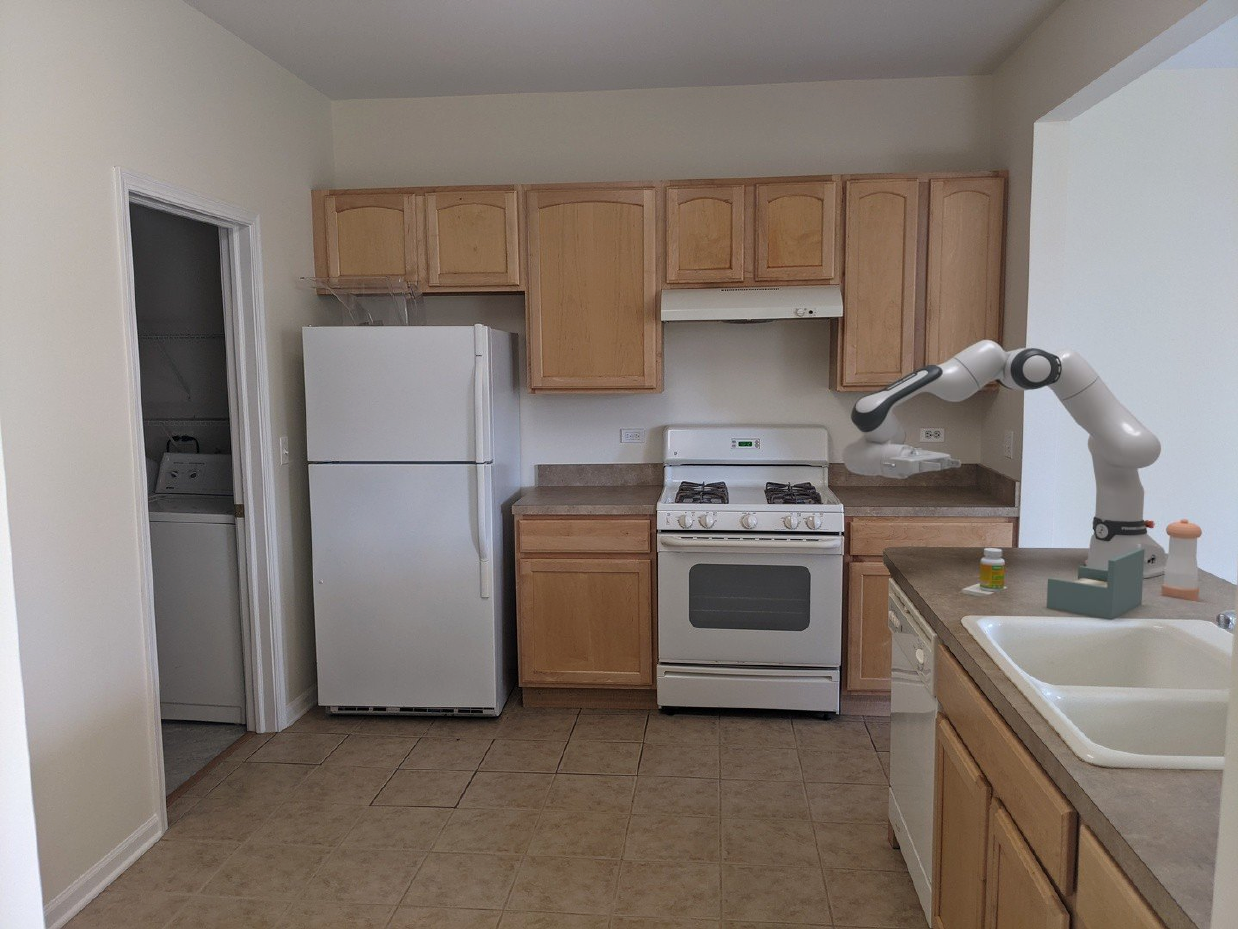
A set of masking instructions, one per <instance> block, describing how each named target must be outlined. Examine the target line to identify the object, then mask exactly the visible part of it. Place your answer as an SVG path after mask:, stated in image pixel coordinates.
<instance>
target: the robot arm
mask: <svg viewBox="0 0 1238 929" xmlns="http://www.w3.org/2000/svg"><path fill="white" fill-rule="evenodd" d="M993 381H995V382H997V383H998V384H999V385H1001V386H1003V387H1004V388H1006V389H1009V390H1015V391H1020V392H1021V391H1029V390H1030V391H1031V390H1032V391H1033V390H1037V389H1041V388H1045V387H1048V388H1049V389H1050V390H1052V392H1053V394H1054V395H1055V396H1056V397H1057V399H1058V400H1059V402H1060V403H1061V404H1062V405H1063V407H1064V408H1065V409H1066V411H1067V412H1068V413H1069V414H1070V416H1071V417H1072V419H1073V420H1074V421H1075V423H1076V424H1077V425H1079V426H1080V427H1081V429H1084V430H1085V432H1087V434H1089V435H1088V439H1087V447H1088V451H1089V453H1090V455H1091V458H1092V466H1093V467H1092V468H1093V472H1094V479H1095V487H1096V489H1095V490H1096V493H1095V494H1096V495H1095V515H1094V517H1093V519H1092V530H1093V534H1092V535H1091V538H1090V540H1089V541H1090V542H1089V548H1088V553H1087V559H1085V560H1084V564H1085V567H1091V568H1097V569H1104V570H1108V560H1110V559H1113V558H1115V557H1118V556H1120V555H1123V554H1125V553H1128V552H1130V551H1133V550H1135V549H1138V548H1142V549H1145V553H1144V570H1143V579H1145V578H1146V579H1149V578H1153V577H1157V576H1163V575H1164V572H1165V566H1166V551H1165V548H1164V547H1163V546H1162V545H1161V544H1160V543H1158V542H1157V541H1156V540H1154V539H1153V538H1152V537H1151V536H1150V535H1149V534H1148V529H1147V528H1149V529H1154V527H1155V525H1156V524H1155V521H1154V520H1148V519H1145V520H1144V505H1145V490H1144V487H1143V485H1142V482H1141V478H1140V475H1139V469H1143V468H1148V467H1150V466H1151V465H1153V464H1155V462H1156V461H1157V460H1158V459H1159V457H1160V454H1161V451H1162V445H1161V441H1160V440H1159V438H1158V437H1157V436H1156V435H1155V434H1154V433H1152V432H1151V431H1150V430H1149V429H1147V427H1146V426H1144V425H1143V423H1142V422H1140V420H1138V418H1137V417H1136V416H1135V415H1134V414H1132V412H1131V411H1130V410H1129V409H1128V408H1127V407H1125V406H1124V404H1122V403H1121V402H1120V401H1119V400H1118V399H1117V397H1116V396H1115V395H1114V394H1113V392H1112V391H1111V390H1110V389H1109V388H1108V385H1106V383H1105V381H1104V380H1103V379H1102V378H1101V376H1100V375H1099V374H1098V373H1097V372H1096V369H1094V368H1093V367H1092V365H1091V364H1090V363H1088V361H1087V360H1086V359H1085V358H1084V357H1083V356H1081V355H1080V354H1079V353H1078V352H1077V351H1076V350H1074V349H1072V348H1065V349H1063V348H1062V349H1060V350H1056V351H1055V352H1053V353H1051V352H1048V351H1046V350H1044V349H1041V348H1038V347H1036V348H1035V347H1022V348H1021V347H1020V348H1018V349H1015V350H1014V349H1013V350H1012V349H1011V350H1007V351H1006V350H1004V349H1003V348H1002V346H1000V344H998V343H997V342H996V341H993V340H990V339H983V340H980V341H978V342H975V343H974V344H972V345H970V346H968V347H967V348H965V349H963V350H961V351H960V352H959V353H957V354H956V355H954V356H953V357H951V358H950V359H948V360H947V361H945V362H943V363H941V364H938V365H936V364H928V365H924V366H922V367H920V368H918V369H916V370H913V371H912V372H910V373H908V374H906V375H904V376H903V377H901V378H899V379H897V380H896V381H894V382H892V383H889V384H888V385H887V386H885V387H883V388H881V389H879V390H878V391H877V390H876V391H875V392H872V393H869V394H867V395H864V396H862V397H861V398H859V399H858V400H857V401H856V402H855V404H854V405H853V407H852V410H851V413H850V419H851V422H852V423H853V424H854V426H855V427H856V428H857V429H858V430H859V431H860V432H861V433H862V436H860V438H858V439H857V440H855V441H853V442H851V443H846V444H845V445H844V447H843V450H842V461H843V464H844V466H845V467H846V469H847V470H848V471H849V472H851V473H854V474H857V475H862V476H869V477H870V476H872V477H875V476H883V477H885V478H893V479H903V480H905V479H908V478H909V477H911V476H913V475H914V474H921V473H925V472H926V473H927V472H933V471H943V470H946V469H950V468H956V469H957V468H961V466H962V463H961V460H959V459H958V460H957V459H953V458H951V455H950V454H949V453H944V452H938V451H932V450H924V449H923V448H922V447H916V446H915V447H913V446H911V445H908V444H904V443H905V440H906V436H907V435H906V432H905V430H904V427H903V425H902V423H900V421H899V420H898V418H897V417H896V415H895V414H894V412H893V410H894V409H895V408H896V406H899V405H901V404H902V403H904V402H906V401H908V400H909V399H911V398H913V397H914V396H917V395H918V394H920V393H931V394H933V395H935V396H937V397H938V398H940V399H941V400H944V401H947V402H952V403H953V402H954V403H955V402H957V403H959V402H962V401H964V400H966V399H968V398H970V397H971V396H973V395H974V394H975V393H978V391H979V390H981V389H982V388H984V386H986V385H987V384H988V383H992V382H993Z"/></svg>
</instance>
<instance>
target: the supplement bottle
mask: <svg viewBox="0 0 1238 929" xmlns="http://www.w3.org/2000/svg"><path fill="white" fill-rule="evenodd" d="M1002 556H1003V550H1002V549H1001V548H994V547H986V548H984V549H983V557H982V558H981V559H980V564H979V568H980V570H979V573H980V575H979V583H980V588H981V589H982V590H985V591H992V592H994V593H996V592H998V591H1002V590H1005V589H1004V587H1005V569H1006V568H1005V567H1006V563H1005V562H1006V561H1005V559H1003V558H1002Z"/></svg>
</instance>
